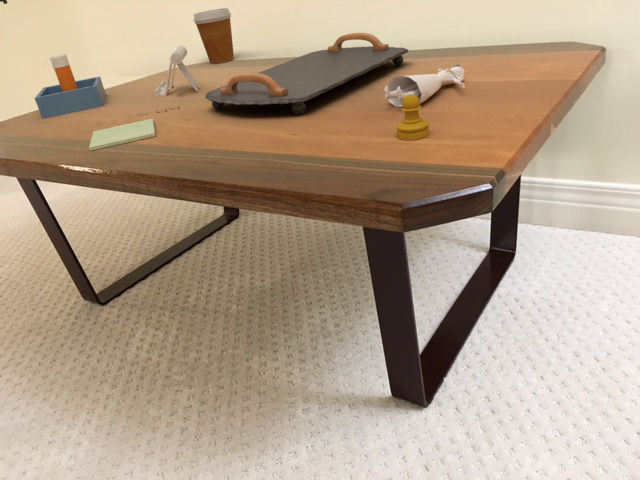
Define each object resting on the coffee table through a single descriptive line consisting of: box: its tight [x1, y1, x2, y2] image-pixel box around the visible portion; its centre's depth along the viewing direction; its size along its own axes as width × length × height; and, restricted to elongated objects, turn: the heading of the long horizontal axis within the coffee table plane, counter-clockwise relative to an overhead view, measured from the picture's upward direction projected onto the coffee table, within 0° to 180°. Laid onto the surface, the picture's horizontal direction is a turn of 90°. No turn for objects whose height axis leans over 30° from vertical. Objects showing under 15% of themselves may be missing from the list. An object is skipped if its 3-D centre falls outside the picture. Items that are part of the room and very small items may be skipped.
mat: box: [88, 118, 157, 152], centre depth 88 cm, size 10×10×1 cm
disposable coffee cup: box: [192, 7, 235, 65], centre depth 137 cm, size 10×10×12 cm
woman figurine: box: [383, 63, 466, 107], centre depth 81 cm, size 12×4×18 cm
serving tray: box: [204, 32, 410, 117], centre depth 97 cm, size 39×23×6 cm, turn 144°
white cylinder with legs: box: [155, 45, 201, 98], centre depth 109 cm, size 9×8×8 cm
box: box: [34, 76, 107, 120], centre depth 110 cm, size 12×12×5 cm
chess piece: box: [395, 94, 430, 141], centre depth 66 cm, size 4×4×5 cm
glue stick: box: [49, 54, 78, 92], centre depth 109 cm, size 3×3×10 cm
